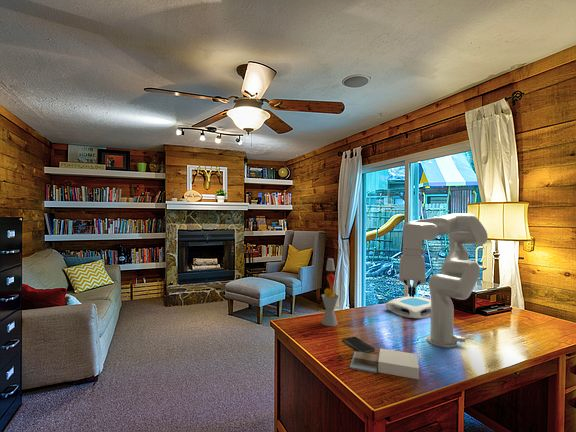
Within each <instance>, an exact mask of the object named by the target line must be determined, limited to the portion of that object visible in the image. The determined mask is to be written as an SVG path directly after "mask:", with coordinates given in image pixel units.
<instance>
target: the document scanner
mask: <svg viewBox="0 0 576 432" xmlns="http://www.w3.org/2000/svg"><path fill="white" fill-rule="evenodd" d="M385 309H387V310H389V311H390V312H392V313H393V314H395V315H398V316H401V317H404V318H410V319H426V318H429V317H430V318H431V298H426V297H422V296H414V297H410V295H409V296H403V297H398V298H393V299H391V300H390V301H387V302H386V303H385ZM403 310H408V312H406V311H403ZM423 311H426V312H423ZM422 312H423V313H422Z"/></svg>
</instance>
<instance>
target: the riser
mask: <svg viewBox="0 0 576 432" xmlns="http://www.w3.org/2000/svg"><path fill="white" fill-rule="evenodd" d="M378 355H379V361H378V367H377V373H379V374H380V373H381V374H386V375H392V376H398V377H404V378H409V379H415V380H419V379H420V368H419V359H418V358H419V357H418V354H417V353H411V352H406V351H398V350H394V349H393V350H392V349H387V348H379V353H378Z"/></svg>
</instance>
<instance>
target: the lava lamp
mask: <svg viewBox="0 0 576 432" xmlns="http://www.w3.org/2000/svg"><path fill="white" fill-rule="evenodd" d="M325 270H326V271H329V272H334V271H336V268H335V262H334V258H330V257H329V258H327V261H326V268H325ZM335 277H336V276H335V275H334V274H333V273H329V274H327V275H326V280H327V282H328V284H329V288H327V287H326V288H325V289H324V291H323V292H324V293H323V294H321V299H322V301H323V305H324V307H325V310H324V311H325V312H324V314H323V317H322V320H321V325H323V326H327V327H335V326H337V325H338V320H337V317H336V313H335V307H336V305H337V302H338V298H339V295H338V294H335V292H334V283H335Z"/></svg>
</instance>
